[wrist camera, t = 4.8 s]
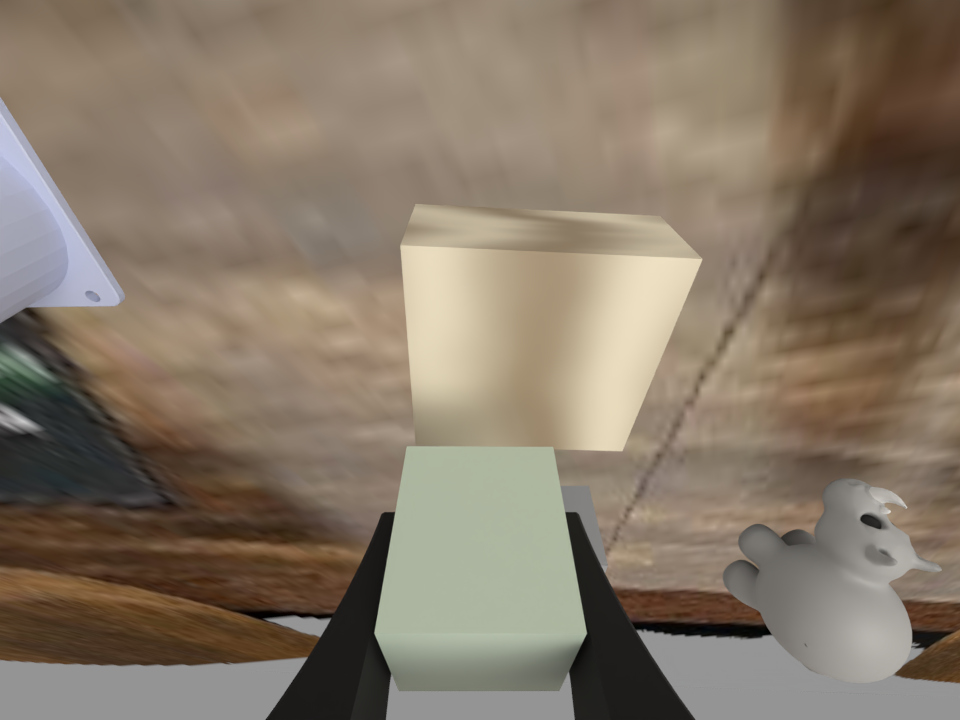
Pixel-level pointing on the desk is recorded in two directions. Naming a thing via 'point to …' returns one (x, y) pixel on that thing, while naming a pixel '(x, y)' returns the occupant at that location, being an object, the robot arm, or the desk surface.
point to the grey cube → (585, 516)
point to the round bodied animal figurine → (834, 585)
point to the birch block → (537, 323)
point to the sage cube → (480, 573)
